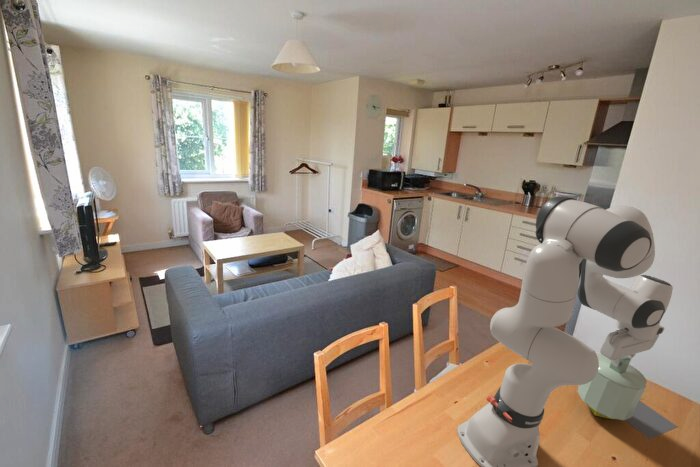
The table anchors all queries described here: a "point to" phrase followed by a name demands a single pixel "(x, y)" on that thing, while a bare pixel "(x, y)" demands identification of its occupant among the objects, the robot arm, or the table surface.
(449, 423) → the table surface
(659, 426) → the slate mat
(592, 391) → the cloche
